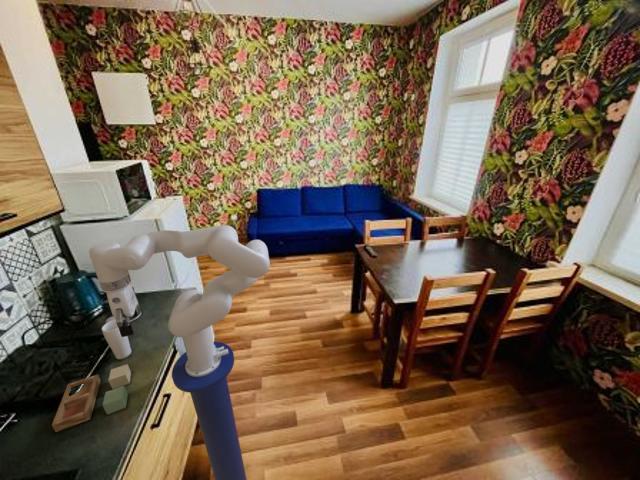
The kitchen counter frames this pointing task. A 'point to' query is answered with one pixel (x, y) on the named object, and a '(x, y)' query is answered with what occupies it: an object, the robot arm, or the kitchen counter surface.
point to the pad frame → (77, 404)
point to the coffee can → (136, 309)
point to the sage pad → (115, 400)
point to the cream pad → (119, 376)
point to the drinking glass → (116, 340)
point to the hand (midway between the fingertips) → (130, 325)
